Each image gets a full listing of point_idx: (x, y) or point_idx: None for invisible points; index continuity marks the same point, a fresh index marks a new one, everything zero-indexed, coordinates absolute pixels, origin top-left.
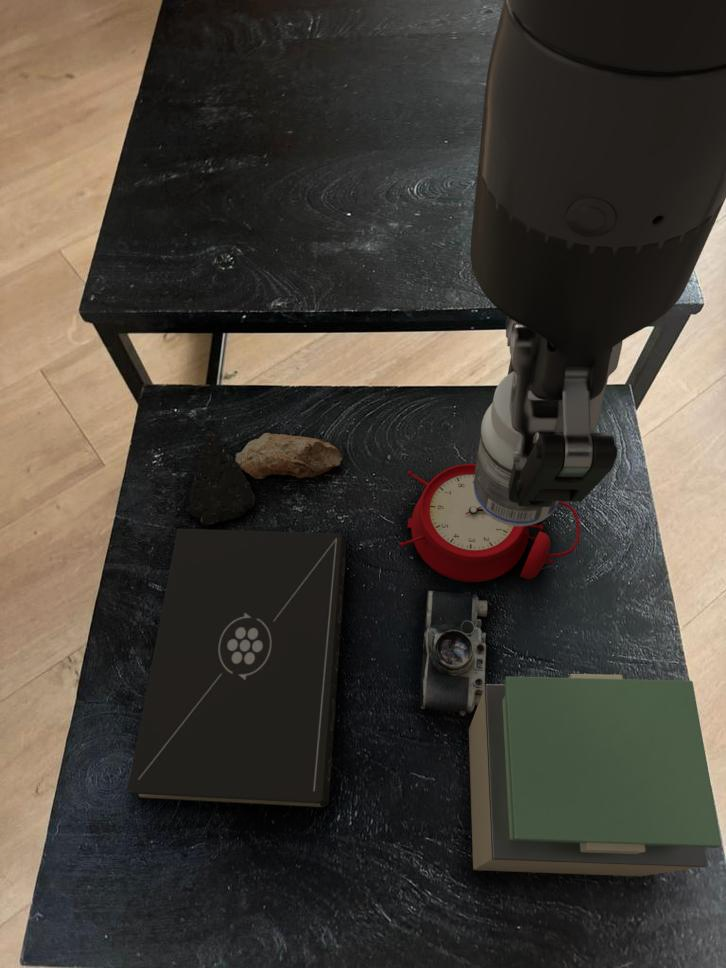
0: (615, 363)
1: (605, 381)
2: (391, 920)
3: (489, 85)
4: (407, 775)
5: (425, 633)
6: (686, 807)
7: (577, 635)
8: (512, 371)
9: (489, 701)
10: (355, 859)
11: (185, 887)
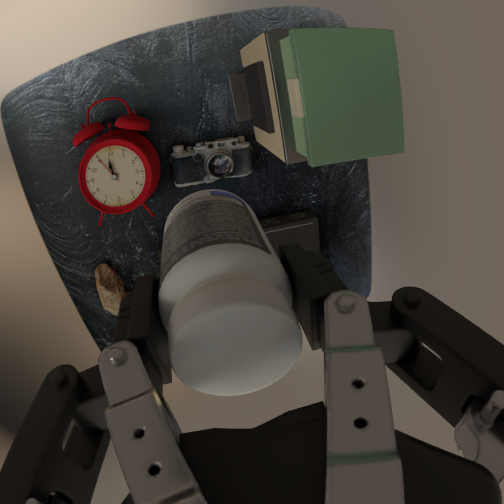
0: (398, 472)
1: (496, 491)
2: (353, 166)
3: None
4: (288, 170)
5: (208, 182)
6: (377, 46)
7: (179, 83)
8: (170, 370)
9: (298, 159)
10: (331, 188)
11: (347, 258)
